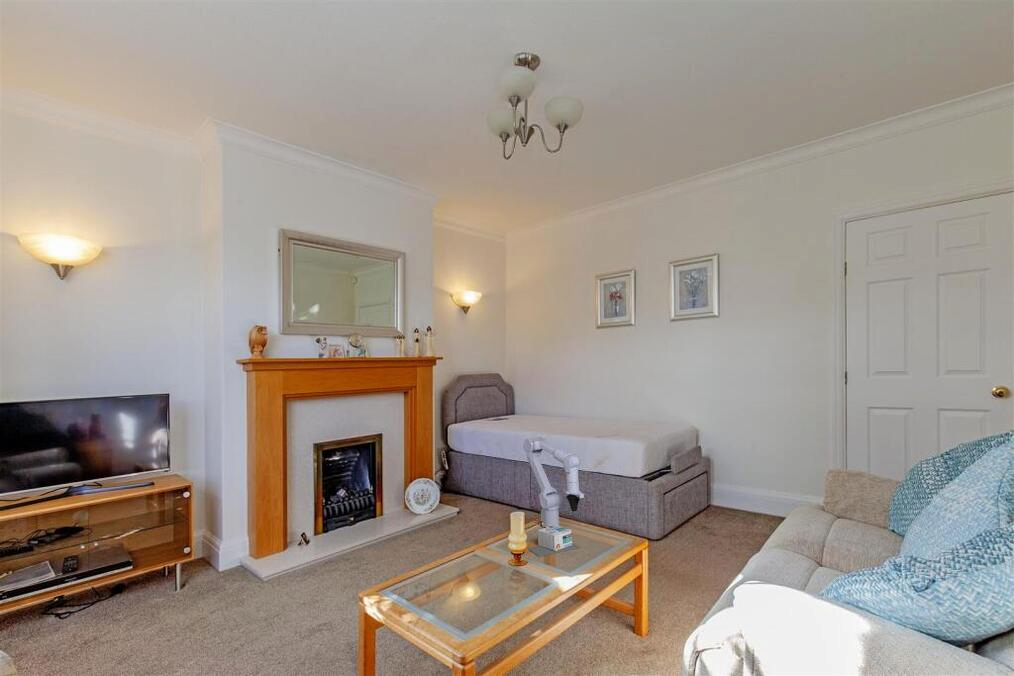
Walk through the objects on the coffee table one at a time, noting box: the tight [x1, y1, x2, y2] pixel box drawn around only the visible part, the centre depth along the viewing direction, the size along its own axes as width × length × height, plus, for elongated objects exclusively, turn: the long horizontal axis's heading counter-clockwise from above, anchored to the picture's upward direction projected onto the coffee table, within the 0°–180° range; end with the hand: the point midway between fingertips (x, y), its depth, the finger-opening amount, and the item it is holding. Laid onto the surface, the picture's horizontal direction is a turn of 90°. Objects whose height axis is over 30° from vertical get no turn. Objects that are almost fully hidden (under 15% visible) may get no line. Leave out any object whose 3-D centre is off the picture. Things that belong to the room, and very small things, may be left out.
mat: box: [527, 542, 581, 558], centre depth 206 cm, size 11×20×1 cm, turn 115°
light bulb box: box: [537, 525, 573, 551], centre depth 209 cm, size 11×7×11 cm
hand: (574, 511), depth 224 cm, fingers closed
